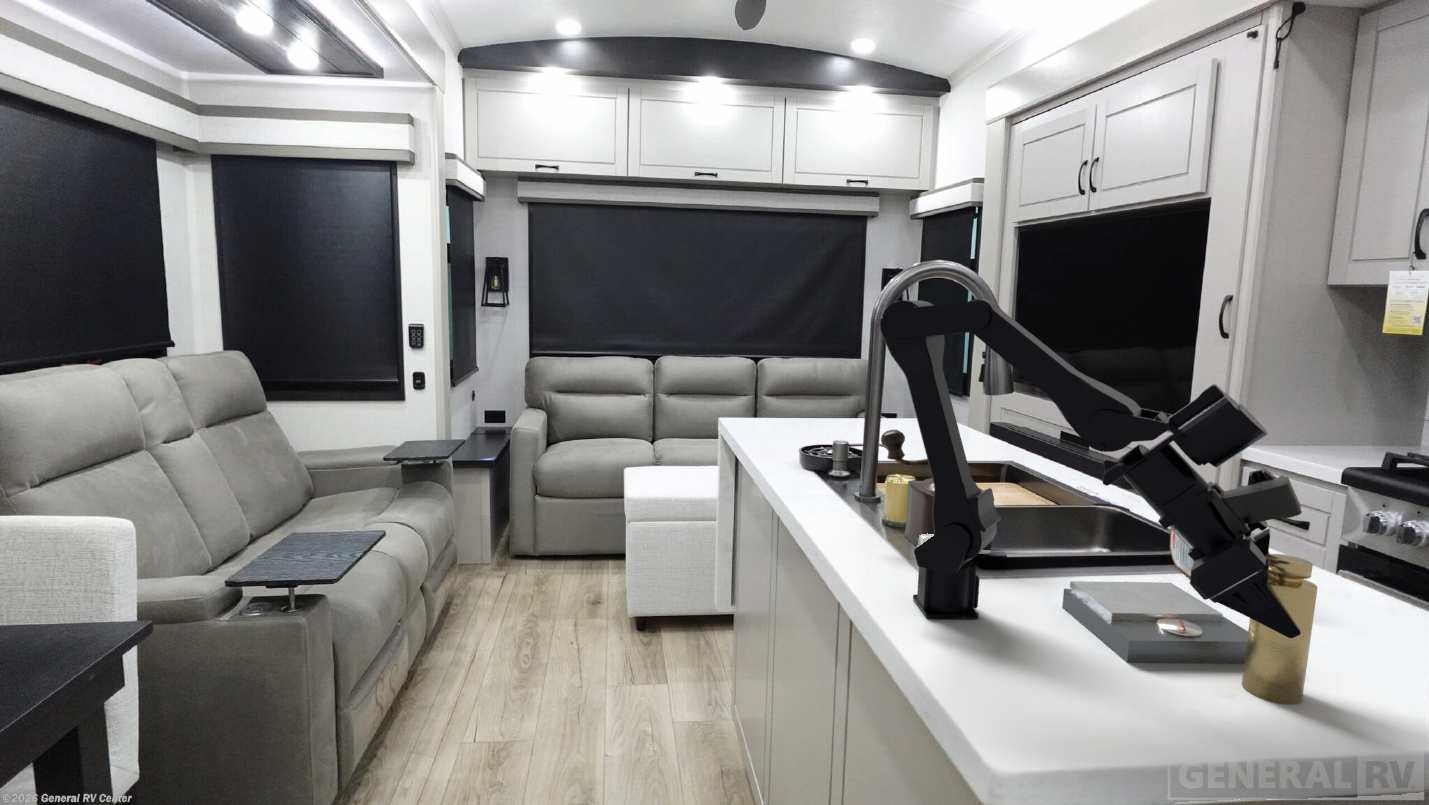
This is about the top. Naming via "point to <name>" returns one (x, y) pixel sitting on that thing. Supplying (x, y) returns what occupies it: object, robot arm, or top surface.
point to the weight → (1271, 655)
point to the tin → (1180, 554)
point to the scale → (1155, 623)
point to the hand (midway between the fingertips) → (1295, 620)
